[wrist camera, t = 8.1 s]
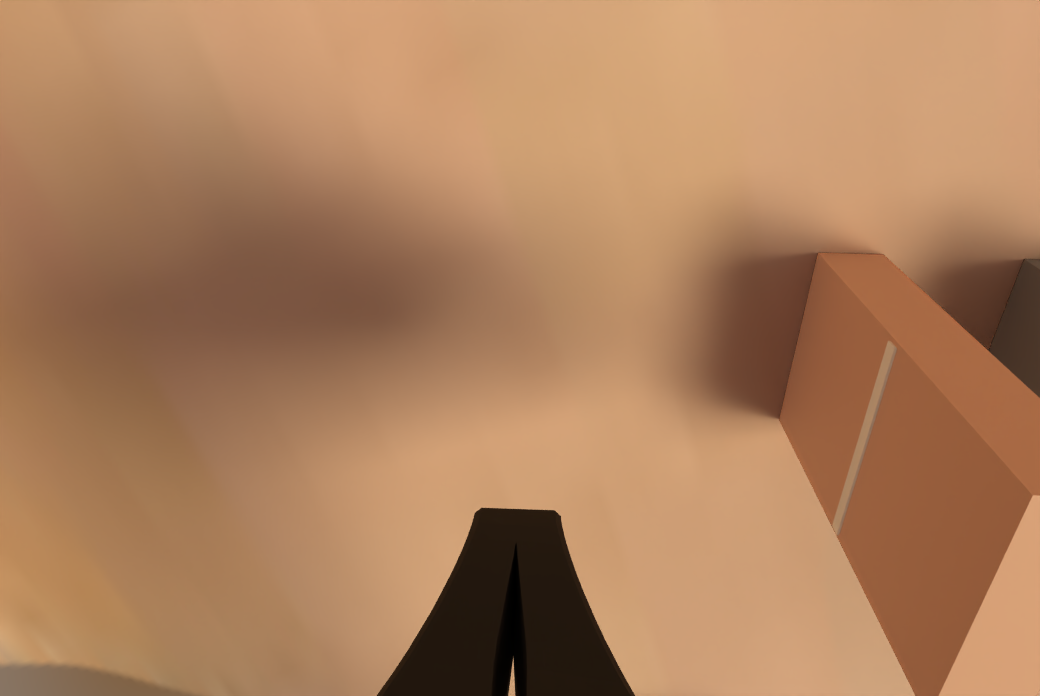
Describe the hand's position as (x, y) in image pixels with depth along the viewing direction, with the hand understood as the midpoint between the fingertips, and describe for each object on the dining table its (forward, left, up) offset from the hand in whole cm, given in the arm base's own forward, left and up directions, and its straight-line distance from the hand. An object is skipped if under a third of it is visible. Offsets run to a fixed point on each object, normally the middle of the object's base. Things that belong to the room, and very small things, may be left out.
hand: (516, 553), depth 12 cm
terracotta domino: (0, -8, -8) cm, 11 cm away
